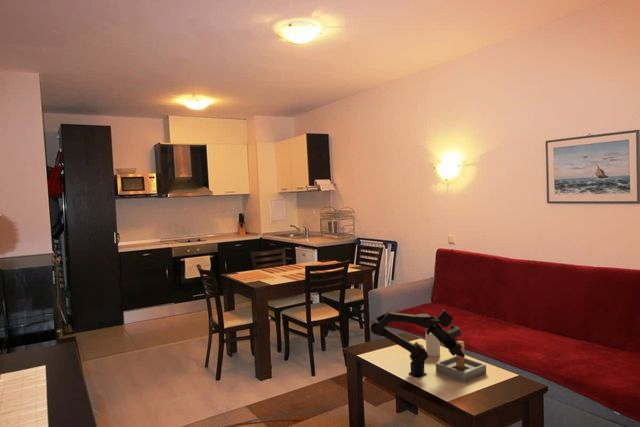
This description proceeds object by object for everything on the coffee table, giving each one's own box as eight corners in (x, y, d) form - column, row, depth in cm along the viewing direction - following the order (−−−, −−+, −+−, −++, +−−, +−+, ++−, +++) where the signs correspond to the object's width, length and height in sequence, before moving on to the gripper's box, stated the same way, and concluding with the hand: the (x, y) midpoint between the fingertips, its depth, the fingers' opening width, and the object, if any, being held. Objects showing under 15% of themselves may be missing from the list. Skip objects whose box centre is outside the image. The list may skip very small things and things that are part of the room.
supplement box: (440, 356, 239) (439, 333, 238) (426, 356, 240) (425, 333, 240) (439, 351, 246) (438, 329, 246) (426, 351, 248) (425, 329, 247)
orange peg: (463, 370, 214) (462, 344, 213) (455, 368, 216) (454, 342, 215) (465, 367, 217) (464, 341, 217) (457, 365, 219) (456, 340, 219)
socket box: (463, 383, 205) (463, 373, 205) (435, 371, 219) (435, 363, 219) (486, 373, 214) (485, 364, 214) (458, 363, 228) (457, 354, 228)
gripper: (457, 327, 206) (480, 349, 207) (446, 316, 225) (467, 337, 225) (441, 344, 207) (464, 366, 207) (431, 332, 225) (453, 352, 226)
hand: (462, 354), depth 216 cm, fingers closed on orange peg, 4 cm apart
